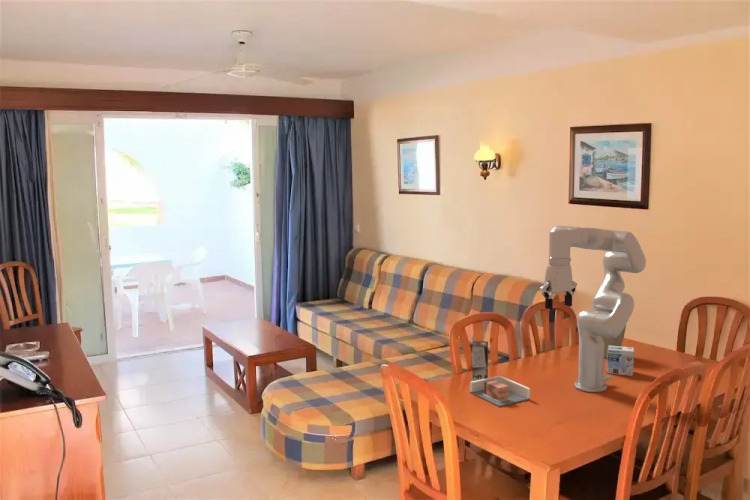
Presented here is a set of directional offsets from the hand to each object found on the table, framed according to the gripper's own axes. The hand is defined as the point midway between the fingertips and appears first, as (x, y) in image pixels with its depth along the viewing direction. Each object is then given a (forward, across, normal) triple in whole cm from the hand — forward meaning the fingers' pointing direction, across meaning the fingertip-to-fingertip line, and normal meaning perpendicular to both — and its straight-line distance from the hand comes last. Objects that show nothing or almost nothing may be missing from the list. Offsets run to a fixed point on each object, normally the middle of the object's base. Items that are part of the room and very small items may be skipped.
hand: (558, 307), depth 241 cm
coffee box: (+36, +11, -33) cm, 50 cm away
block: (+36, +18, -14) cm, 42 cm away
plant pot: (+36, -61, -30) cm, 77 cm away
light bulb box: (+37, -47, -11) cm, 61 cm away
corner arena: (+36, +16, -15) cm, 42 cm away
